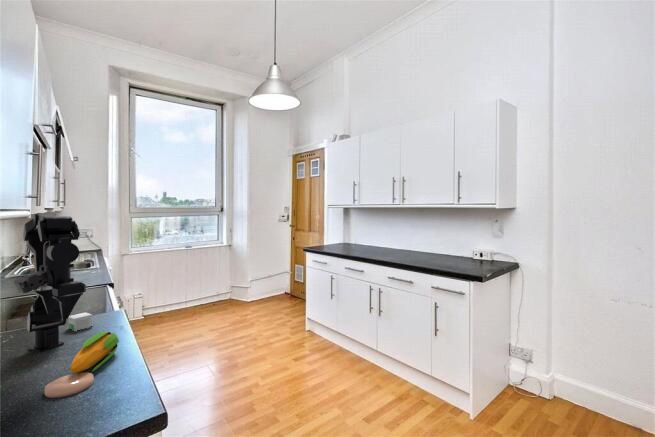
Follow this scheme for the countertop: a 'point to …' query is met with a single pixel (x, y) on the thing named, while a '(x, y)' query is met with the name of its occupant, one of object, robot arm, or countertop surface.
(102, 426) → the countertop surface
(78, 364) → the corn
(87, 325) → the small box
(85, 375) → the pink flat disc
